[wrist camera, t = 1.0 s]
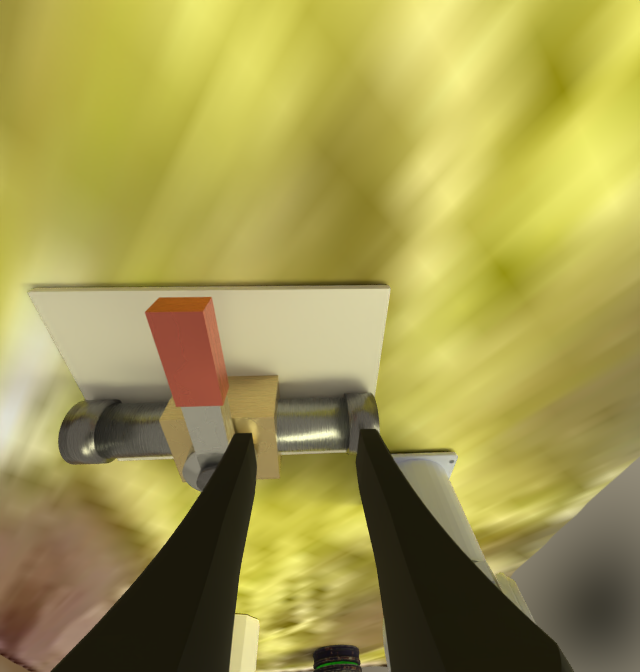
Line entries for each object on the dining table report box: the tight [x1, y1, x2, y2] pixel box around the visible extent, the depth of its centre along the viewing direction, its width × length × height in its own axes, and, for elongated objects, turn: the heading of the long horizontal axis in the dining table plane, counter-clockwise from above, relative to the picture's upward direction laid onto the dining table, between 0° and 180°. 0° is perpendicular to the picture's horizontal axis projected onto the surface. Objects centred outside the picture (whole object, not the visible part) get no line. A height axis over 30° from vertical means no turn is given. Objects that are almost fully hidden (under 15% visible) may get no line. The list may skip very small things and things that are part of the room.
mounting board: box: [27, 285, 390, 461], centre depth 23 cm, size 16×22×1 cm
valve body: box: [58, 375, 380, 482], centre depth 22 cm, size 6×21×5 cm, turn 89°
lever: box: [145, 297, 257, 492], centre depth 17 cm, size 14×4×2 cm, turn 179°
